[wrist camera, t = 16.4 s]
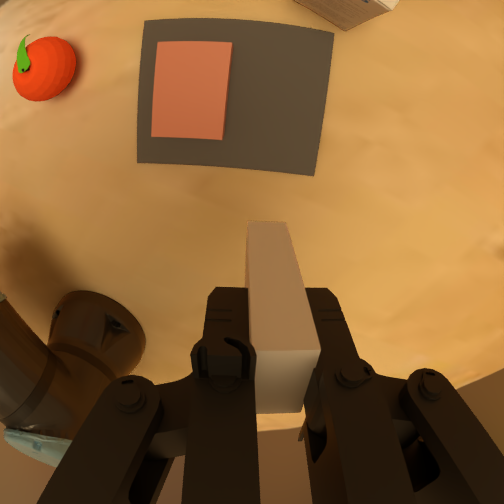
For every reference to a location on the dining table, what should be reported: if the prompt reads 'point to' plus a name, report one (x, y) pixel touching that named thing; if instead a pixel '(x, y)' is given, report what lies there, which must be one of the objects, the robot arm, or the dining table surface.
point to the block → (191, 89)
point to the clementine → (43, 68)
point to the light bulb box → (349, 10)
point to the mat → (247, 95)
